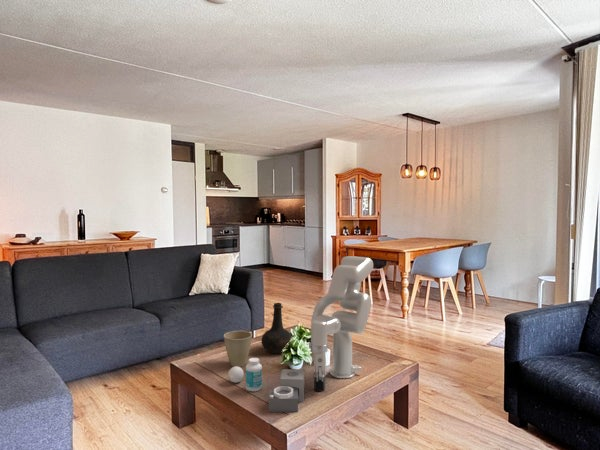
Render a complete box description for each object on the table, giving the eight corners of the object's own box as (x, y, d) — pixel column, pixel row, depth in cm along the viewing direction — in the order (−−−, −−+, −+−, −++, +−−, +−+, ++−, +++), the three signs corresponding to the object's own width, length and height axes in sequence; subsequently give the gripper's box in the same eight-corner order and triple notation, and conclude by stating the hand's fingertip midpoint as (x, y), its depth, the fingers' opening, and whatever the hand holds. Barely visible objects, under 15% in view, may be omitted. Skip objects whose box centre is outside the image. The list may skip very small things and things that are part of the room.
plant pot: (250, 370, 198) (249, 339, 198) (221, 369, 199) (221, 339, 198) (254, 358, 213) (254, 330, 213) (227, 358, 214) (227, 330, 213)
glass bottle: (256, 353, 221) (255, 305, 220) (270, 343, 237) (270, 298, 236) (284, 358, 214) (284, 308, 213) (297, 347, 230) (297, 301, 229)
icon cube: (280, 401, 166) (280, 378, 166) (282, 390, 176) (282, 369, 176) (303, 402, 166) (303, 379, 165) (304, 391, 176) (304, 369, 175)
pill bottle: (255, 393, 173) (255, 364, 173) (242, 389, 177) (242, 360, 177) (265, 387, 180) (265, 358, 179) (252, 383, 183) (252, 355, 183)
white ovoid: (247, 382, 185) (246, 367, 184) (233, 386, 180) (233, 371, 180) (235, 375, 192) (235, 360, 192) (222, 379, 187) (222, 364, 187)
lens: (324, 387, 180) (324, 370, 179) (325, 392, 175) (325, 374, 174) (313, 387, 180) (313, 370, 179) (313, 392, 174) (313, 375, 174)
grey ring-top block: (297, 401, 166) (297, 385, 166) (298, 411, 158) (298, 394, 158) (269, 402, 166) (269, 386, 165) (268, 412, 158) (268, 395, 157)
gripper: (329, 354, 168) (329, 394, 168) (325, 340, 185) (325, 377, 186) (312, 354, 167) (311, 394, 168) (310, 340, 185) (309, 377, 186)
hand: (319, 385), depth 177 cm, fingers open, 7 cm apart
